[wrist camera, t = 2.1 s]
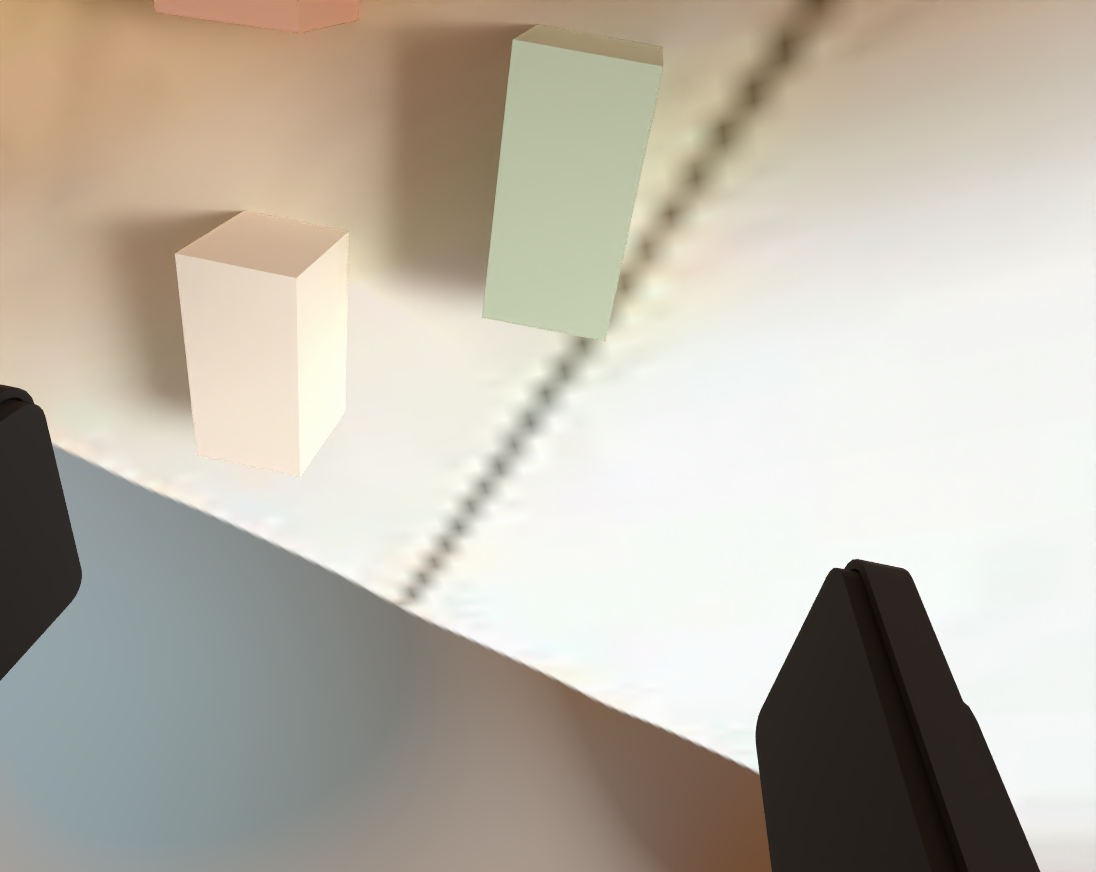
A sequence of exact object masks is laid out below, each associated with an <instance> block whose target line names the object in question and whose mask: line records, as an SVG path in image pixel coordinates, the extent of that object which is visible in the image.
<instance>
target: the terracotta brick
mask: <svg viewBox="0 0 1096 872" xmlns="http://www.w3.org/2000/svg"><path fill="white" fill-rule="evenodd" d="M153 1H154V7H155V12H157V13H163V14H170V15H177V16H184V17H191V18H198V19H205V20H211V21H218V22H225V23H232V24H239V25H246V26H253V27H259V28H266V29H273V30H280V31H287V32H294V33H302V32H306V31H311V30H316V29H320V28H325V27H329V26H334V25H338V24H343V23H347V22H352V21H356V20H359V6H358V0H153Z"/></svg>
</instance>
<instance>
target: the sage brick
mask: <svg viewBox="0 0 1096 872" xmlns="http://www.w3.org/2000/svg"><path fill="white" fill-rule="evenodd" d="M662 70H663V47H659V46H654V45H648V44H643V43H637V42H632V41H626V40H621V39H615V38H610V37H604V36H598V35H593V34H587V33H582V32H576V31H571V30H565V29H560V28H554V27H549V26H543V25H538V24H537V25H536V26H534V27H532V28H531V29H529V30H527V31H526V32H524V33H522V34H521V35H519V36H517V37H516V38H514V39H513V40H512V50H511V59H510V68H509V77H508V86H507V95H506V104H505V113H504V122H503V132H502V141H501V150H500V159H499V168H498V177H497V186H496V195H495V204H494V214H493V223H492V232H491V241H490V250H489V259H488V268H487V277H486V286H485V296H484V305H483V314H482V318H487V319H492V320H497V321H502V322H508V323H513V324H518V325H524V326H529V327H534V328H539V329H545V330H550V331H555V332H560V333H566V334H571V335H576V336H581V337H587V338H592V339H597V340H603V341H606V336H607V331H608V327H609V322H610V317H611V312H612V308H613V303H614V298H615V293H616V289H617V284H618V279H619V274H620V270H621V265H622V260H623V255H624V251H625V246H626V241H627V236H628V232H629V227H630V222H631V217H632V213H633V208H634V203H635V198H636V194H637V189H638V184H639V179H640V175H641V170H642V165H643V160H644V156H645V151H646V146H647V141H648V137H649V132H650V127H651V122H652V118H653V113H654V108H655V103H656V99H657V94H658V89H659V84H660V80H661V75H662Z"/></svg>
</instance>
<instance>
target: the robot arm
mask: <svg viewBox="0 0 1096 872" xmlns="http://www.w3.org/2000/svg"><path fill="white" fill-rule="evenodd" d="M81 579H82V571H81V566H80V562H79V557H78V553H77V549H76V545H75V540H74V536H73V532H72V528H71V523H70V519H69V515H68V511H67V507H66V503H65V498H64V494H63V489H62V485H61V481H60V477H59V472H58V468H57V464H56V460H55V455H54V451H53V447H52V443H51V438H50V434H49V430H48V426H47V422H46V417H45V415H44V412H43V410H42V409H41V408H40V407H39V406H37V405H35V404H34V402H33V399H32V397H31V396H30V395H29V394H28V393H27V392H26V391H24V390H22V389H20V388H15V387H10V386H5V385H1V384H0V680H1V679H2V678H3V677H4V676H5V675H6V674H7V673H8V671H9V670H10V669H11V668H12V667H13V666H14V665H15V664H16V663H17V662H18V660H19V659H20V658H21V657H22V656H23V655H24V654H25V653H26V652H27V651H28V649H29V648H30V647H31V646H32V645H33V644H34V643H35V642H36V641H37V639H38V638H39V637H40V636H41V635H42V634H43V633H44V632H45V631H46V629H47V628H48V627H49V626H50V625H51V624H52V623H53V622H54V621H55V620H56V618H57V617H58V616H59V615H60V614H61V613H62V612H63V610H65V608H66V607H67V606H68V605H69V604H70V603H71V602H72V600H73V599H74V597H75V596H76V594H77V592H78V590H79V587H80V584H81ZM756 749H757V757H758V764H759V772H760V780H761V788H762V796H763V804H764V812H765V820H766V827H767V836H768V843H769V851H770V859H771V867H772V872H1040V870H1039V868H1038V865H1037V863H1036V860H1035V858H1034V856H1033V853H1032V851H1031V848H1030V846H1029V844H1028V841H1027V839H1026V837H1025V834H1024V832H1023V829H1022V827H1021V825H1020V822H1019V820H1018V817H1017V815H1016V813H1015V810H1014V808H1013V805H1012V803H1011V801H1010V798H1009V796H1008V794H1007V791H1006V789H1005V786H1004V784H1003V782H1002V779H1001V777H1000V774H999V772H998V770H997V767H996V765H995V763H994V760H993V758H992V755H991V753H990V751H989V748H988V746H987V743H986V741H985V739H984V736H983V734H982V731H981V729H980V727H979V724H978V722H977V720H976V718H975V716H974V715H973V713H972V711H971V709H970V708H969V706H968V705H966V704H965V703H964V702H963V700H962V698H961V695H960V693H959V690H958V688H957V686H956V683H955V681H954V678H953V676H952V673H951V671H950V668H949V666H948V664H947V661H946V659H945V656H944V654H943V651H942V649H941V647H940V644H939V642H938V639H937V637H936V634H935V632H934V630H933V627H932V625H931V622H930V620H929V617H928V615H927V613H926V610H925V608H924V605H923V603H922V600H921V598H920V596H919V593H918V591H917V588H916V586H915V583H914V581H913V579H912V577H911V575H910V574H909V572H908V571H906V570H905V569H903V568H898V567H894V566H889V565H884V564H879V563H874V562H869V561H864V560H859V559H855V560H852V561H850V562H849V563H848V564H847V566H846V567H845V569H840V568H833V569H832V570H831V571H830V572H829V574H828V575H827V577H826V579H825V581H824V583H823V585H822V587H821V589H820V591H819V593H818V595H817V597H816V599H815V601H814V603H813V605H812V607H811V609H810V611H809V613H808V616H807V618H806V620H805V622H804V624H803V626H802V628H801V630H800V632H799V634H798V636H797V638H796V640H795V642H794V644H793V646H792V648H791V650H790V652H789V654H788V656H787V658H786V660H785V662H784V664H783V666H782V668H781V670H780V672H779V674H778V676H777V678H776V680H775V682H774V684H773V686H772V688H771V690H770V692H769V694H768V696H767V698H766V701H765V703H764V705H763V707H762V709H761V711H760V713H759V716H758V720H757V726H756Z"/></svg>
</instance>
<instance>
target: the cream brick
mask: <svg viewBox="0 0 1096 872" xmlns="http://www.w3.org/2000/svg"><path fill="white" fill-rule="evenodd" d="M348 238H349V232H348V231H343V230H338V229H333V228H328V227H323V226H319V225H314V224H309V223H304V222H299V221H294V220H289V219H284V218H279V217H274V216H269V215H264V214H259V213H254V212H249V211H245V210H244V211H243V212H241V213H239V214H238V215H236V216H234V217H233V218H231V219H230V220H228V221H226V222H225V223H223V224H221V225H220V226H218V227H217V228H215V229H213V230H212V231H210V232H209V233H207V234H205V235H204V236H202V237H200V238H199V239H197V240H196V241H194V242H192V243H191V244H189V245H187V246H186V247H184V248H183V249H181V250H179V251H178V252H176V253H175V261H176V270H177V279H178V288H179V297H180V306H181V315H182V324H183V334H184V343H185V352H186V361H187V370H188V379H189V388H190V397H191V406H192V416H193V425H194V434H195V443H196V452H197V456H202V457H206V458H211V459H216V460H221V461H226V462H230V463H235V464H240V465H245V466H249V467H254V468H259V469H264V470H269V471H273V472H278V473H283V474H288V475H293V476H297V477H301V475H302V474H303V472H304V471H305V469H306V468H307V466H308V465H309V463H310V462H311V461H312V459H313V458H314V456H315V455H316V453H317V452H318V450H319V449H320V447H321V446H322V445H323V443H324V442H325V440H326V439H327V437H328V436H329V434H330V433H331V432H332V430H333V429H334V427H335V426H336V424H337V423H338V421H339V420H340V418H341V417H342V416H343V414H344V413H345V391H346V340H347V289H348Z"/></svg>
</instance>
